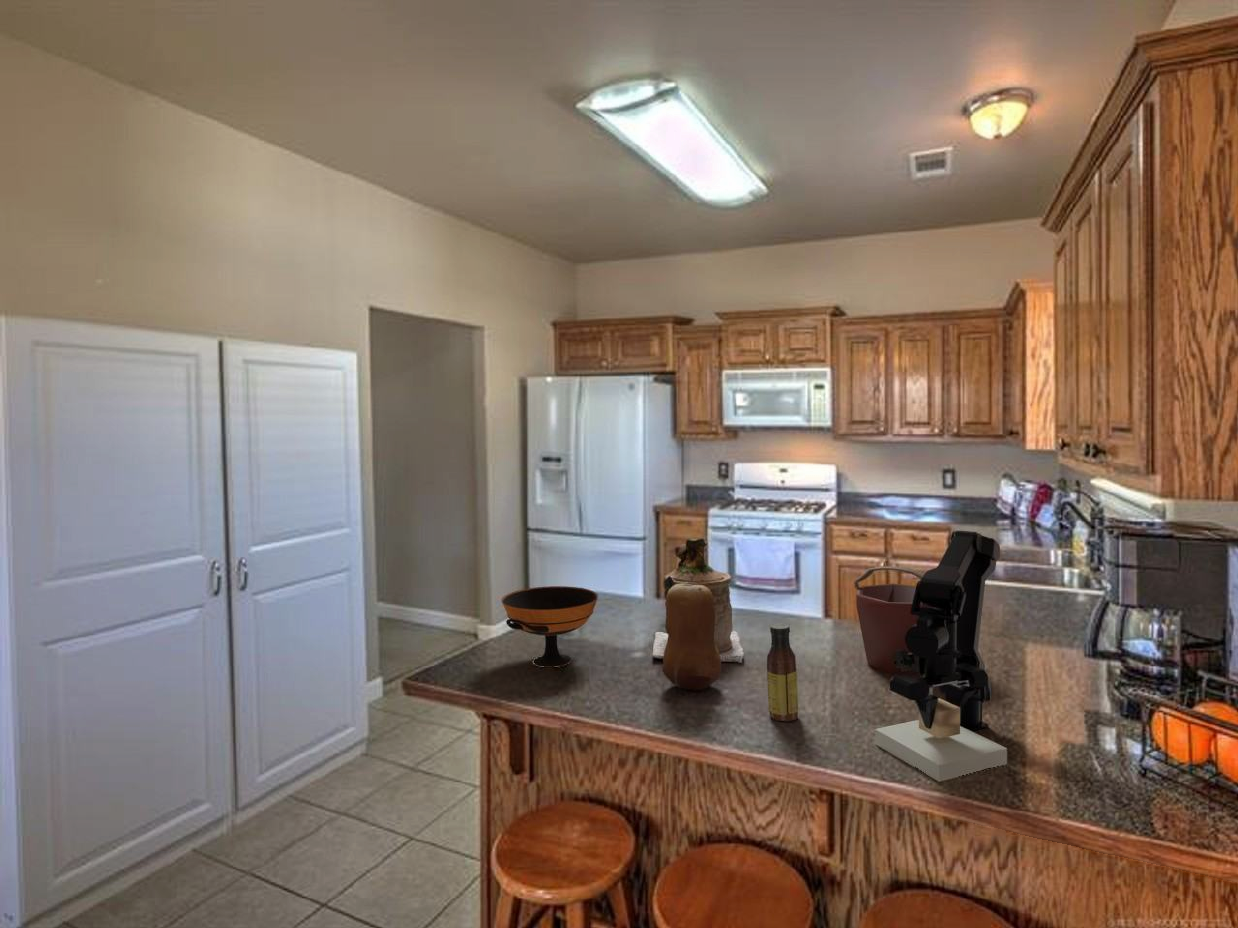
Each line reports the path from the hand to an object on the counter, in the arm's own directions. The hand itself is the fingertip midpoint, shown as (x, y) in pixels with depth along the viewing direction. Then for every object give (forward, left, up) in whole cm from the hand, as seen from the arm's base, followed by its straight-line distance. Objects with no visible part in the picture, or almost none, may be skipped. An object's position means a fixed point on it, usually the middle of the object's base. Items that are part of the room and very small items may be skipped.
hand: (939, 725), depth 134 cm
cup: (+53, -81, -6) cm, 97 cm away
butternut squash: (+27, -49, -6) cm, 56 cm away
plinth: (0, 0, -6) cm, 6 cm away
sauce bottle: (+17, -26, -6) cm, 32 cm away
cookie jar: (+12, -75, -6) cm, 76 cm away
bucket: (-30, -42, -6) cm, 52 cm away
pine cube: (0, 0, -1) cm, 1 cm away
